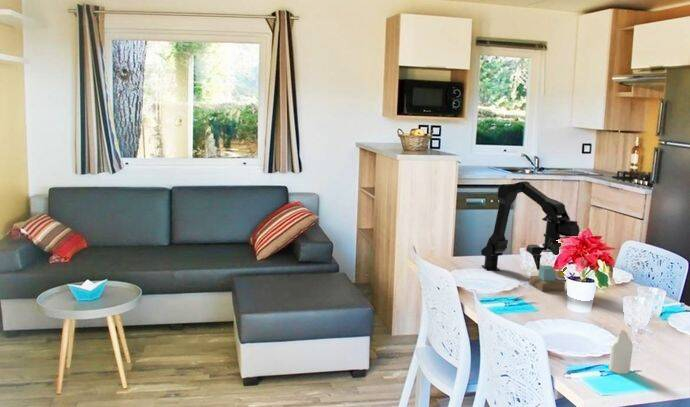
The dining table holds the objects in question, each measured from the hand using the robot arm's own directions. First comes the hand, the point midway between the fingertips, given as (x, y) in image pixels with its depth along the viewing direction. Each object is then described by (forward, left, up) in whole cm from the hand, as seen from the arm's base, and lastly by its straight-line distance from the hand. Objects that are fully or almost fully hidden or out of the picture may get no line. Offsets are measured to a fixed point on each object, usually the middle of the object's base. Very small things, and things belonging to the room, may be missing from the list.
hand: (548, 270), depth 255 cm
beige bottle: (+76, -14, -8) cm, 78 cm away
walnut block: (0, 0, -8) cm, 8 cm away
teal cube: (0, 0, -4) cm, 4 cm away
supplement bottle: (-13, +13, -8) cm, 20 cm away
